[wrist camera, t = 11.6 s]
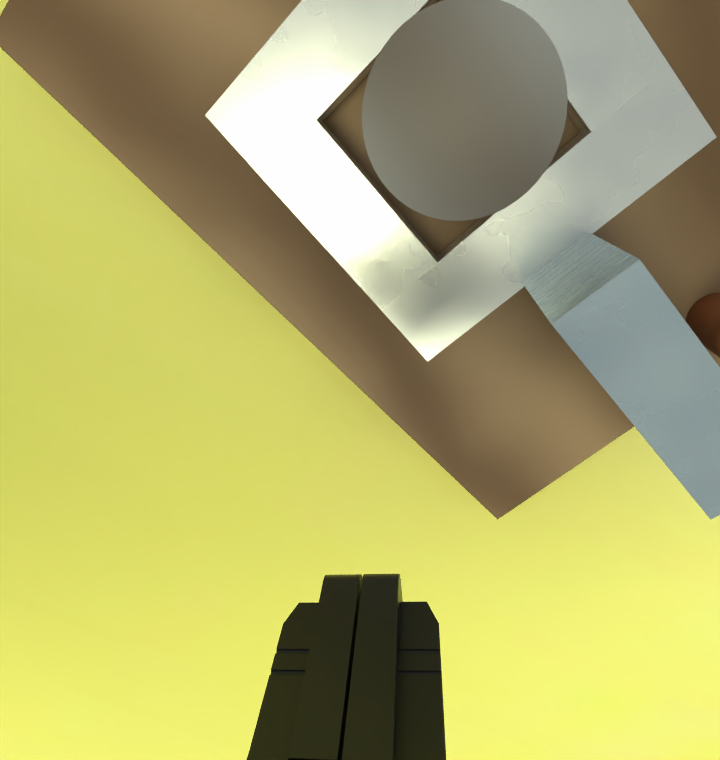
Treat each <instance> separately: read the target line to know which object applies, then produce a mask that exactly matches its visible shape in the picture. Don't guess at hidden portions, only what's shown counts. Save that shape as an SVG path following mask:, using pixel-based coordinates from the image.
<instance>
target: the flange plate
mask: <svg viewBox="0 0 720 760" xmlns="http://www.w3.org/2000/svg"><path fill="white" fill-rule="evenodd" d="M436 1H437V0H302V1H301V2H300V3H299V4H298V5H297V7H296V8H295V9H294V10H293V11H292V12H291V14H290V15H289V16H288V17H287V18H286V20H285V21H284V22H283V23H282V24H281V26H280V27H279V28H278V29H277V30H276V31H275V33H274V34H273V35H272V36H271V37H270V39H269V40H268V41H267V42H266V43H265V45H264V46H263V47H262V48H261V49H260V50H259V52H258V53H257V54H256V55H255V56H254V58H253V59H252V60H251V61H250V62H249V64H248V65H247V66H246V67H245V68H244V70H243V71H242V72H241V73H240V74H239V75H238V77H237V78H236V79H235V80H234V81H233V83H232V84H231V85H230V86H229V87H228V89H227V90H226V91H225V92H224V93H223V94H222V96H221V97H220V98H219V99H218V100H217V102H216V103H215V104H214V105H213V106H212V108H211V109H210V110H209V111H208V112H207V113H206V115H205V116H206V117H207V118H208V119H209V120H210V121H211V122H212V124H213V125H214V126H215V127H216V128H217V129H218V130H219V131H220V132H221V134H222V135H223V136H224V137H225V138H226V139H227V140H228V141H229V142H230V143H231V145H232V146H233V147H234V148H235V149H236V150H237V151H238V152H239V153H240V155H241V156H242V157H243V158H244V159H245V160H246V161H247V162H248V163H249V164H250V166H251V167H252V168H253V169H254V170H255V171H256V172H257V173H258V174H259V176H260V177H261V178H262V179H263V180H264V181H265V182H266V183H267V184H268V186H269V187H270V188H271V189H272V190H273V191H274V192H275V193H276V194H277V195H278V197H279V198H280V199H281V200H282V201H283V202H284V203H285V204H286V205H287V207H288V208H289V209H290V210H291V211H292V212H293V213H294V214H295V215H296V217H297V218H298V219H299V220H300V221H301V222H302V223H303V224H304V225H305V226H306V228H307V229H308V230H309V231H310V232H311V233H312V234H313V235H314V236H315V238H316V239H317V240H318V241H319V242H320V243H321V244H322V245H323V246H324V248H325V249H326V250H327V251H328V252H329V253H330V254H331V255H332V256H333V257H334V259H335V260H336V261H337V262H338V263H339V264H340V265H341V266H342V267H343V269H344V270H345V271H346V272H347V273H348V274H349V275H350V276H351V277H352V278H353V280H354V281H355V282H356V283H357V284H358V285H359V286H360V287H361V288H362V290H363V291H364V292H365V293H366V294H367V295H368V296H369V297H370V298H371V300H372V301H373V302H374V303H375V304H376V305H377V306H378V307H379V308H380V309H381V311H382V312H383V313H384V314H385V315H386V316H387V317H388V318H389V319H390V321H391V322H392V323H393V324H394V325H395V326H396V327H397V328H398V329H399V331H400V332H401V333H402V334H403V335H404V336H405V337H406V338H407V339H408V340H409V342H410V343H411V344H412V345H413V346H414V347H415V348H416V349H417V350H418V352H419V353H420V354H421V355H422V356H423V357H424V358H425V359H426V360H427V361H429V360H430V359H432V358H433V357H434V356H436V355H437V354H438V353H439V352H441V351H442V350H443V349H445V348H446V347H447V346H448V345H450V344H451V343H452V342H454V341H455V340H456V339H457V338H459V337H460V336H461V335H463V334H464V333H465V332H466V331H468V330H469V329H470V328H472V327H473V326H474V325H476V324H477V323H478V322H479V321H481V320H482V319H483V318H485V317H486V316H487V315H488V314H490V313H491V312H492V311H494V310H495V309H496V308H497V307H499V306H500V305H501V304H503V303H504V302H505V301H506V300H508V299H509V298H510V297H512V296H513V295H514V294H515V293H517V292H518V291H519V290H521V289H522V288H523V287H524V286H525V287H526V289H527V290H528V292H529V293H530V294H531V296H532V297H533V299H534V300H535V302H536V303H537V304H538V306H539V307H540V309H541V310H542V312H543V313H544V314H545V316H546V317H547V319H548V320H549V322H550V323H551V324H552V326H553V327H554V328H555V329H556V331H557V332H558V333H559V334H560V335H561V337H562V338H563V339H564V340H565V342H566V343H567V344H568V345H569V346H570V348H571V349H572V350H573V351H574V353H575V354H576V355H577V356H578V358H579V359H580V360H581V361H582V362H583V364H584V365H585V366H586V367H587V369H588V370H589V371H590V372H591V373H592V375H593V376H594V377H595V378H596V380H597V381H598V382H599V383H600V384H601V386H602V387H603V388H604V389H605V391H606V392H607V393H608V394H609V395H610V397H611V398H612V399H613V400H614V402H615V403H616V404H617V405H618V407H619V408H620V409H621V410H622V411H623V413H624V414H625V415H626V416H627V418H628V419H629V420H630V421H631V422H632V424H633V425H634V426H635V427H636V429H637V430H638V431H639V432H640V433H641V435H642V436H643V437H644V438H645V440H646V441H647V442H648V443H649V445H650V446H651V447H652V448H653V449H654V451H655V452H656V453H657V454H658V456H659V457H660V458H661V459H662V460H663V462H664V463H665V464H666V465H667V467H668V468H669V469H670V470H671V471H672V473H673V474H674V475H675V476H676V478H677V479H678V480H679V481H680V482H681V484H682V485H683V486H684V487H685V489H686V490H687V491H688V492H689V494H690V495H691V496H692V497H693V498H694V500H695V501H696V502H697V503H698V505H699V506H700V507H701V508H702V509H703V511H704V512H705V513H706V514H707V516H708V517H709V518H710V519H713V518H714V517H716V516H718V515H720V367H719V366H718V364H717V363H716V362H715V360H714V359H713V358H712V356H711V355H710V354H709V352H708V351H707V350H706V348H705V347H704V346H703V344H702V343H701V341H700V340H699V339H698V337H697V336H696V335H695V333H694V332H693V331H692V329H691V328H690V327H689V325H688V324H687V323H686V321H685V320H684V319H683V317H682V316H681V314H680V313H679V312H678V310H677V309H676V308H675V306H674V305H673V304H672V302H671V301H670V300H669V298H668V297H667V296H666V294H665V293H664V291H663V290H662V289H661V287H660V286H659V285H658V283H657V282H656V281H655V279H654V278H653V277H652V275H651V274H650V273H649V271H648V270H647V269H646V267H645V266H644V264H643V263H642V262H641V260H640V259H638V258H636V257H634V256H633V255H631V254H629V253H627V252H625V251H623V250H621V249H619V248H618V247H616V246H614V245H612V244H610V243H608V242H606V241H604V240H603V239H601V238H599V237H597V236H595V235H593V233H594V232H595V231H597V230H598V229H599V228H600V227H602V226H603V225H604V224H606V223H607V222H608V221H609V220H611V219H612V218H613V217H615V216H616V215H617V214H618V213H620V212H621V211H622V210H624V209H625V208H626V207H627V206H629V205H630V204H631V203H633V202H634V201H635V200H636V199H638V198H639V197H640V196H642V195H643V194H644V193H645V192H647V191H648V190H649V189H651V188H652V187H653V186H655V185H656V184H657V183H658V182H660V181H661V180H662V179H664V178H665V177H666V176H667V175H669V174H670V173H671V172H673V171H674V170H675V169H676V168H678V167H679V166H680V165H682V164H683V163H684V162H685V161H687V160H688V159H689V158H691V157H692V156H693V155H694V154H696V153H697V152H698V151H700V150H701V149H702V148H703V147H705V146H706V145H707V144H709V143H710V142H711V141H712V140H714V139H715V138H716V135H715V134H714V132H713V131H712V129H711V127H710V126H709V124H708V123H707V121H706V120H705V118H704V117H703V115H702V114H701V112H700V111H699V109H698V108H697V106H696V105H695V103H694V102H693V100H692V99H691V97H690V95H689V94H688V92H687V91H686V89H685V88H684V86H683V85H682V83H681V82H680V80H679V79H678V77H677V76H676V74H675V73H674V71H673V70H672V68H671V67H670V65H669V63H668V62H667V60H666V59H665V57H664V56H663V54H662V53H661V51H660V50H659V48H658V47H657V45H656V44H655V42H654V41H653V39H652V38H651V36H650V35H649V33H648V31H647V30H646V28H645V27H644V25H643V24H642V22H641V21H640V19H639V18H638V16H637V15H636V13H635V12H634V10H633V9H632V7H631V6H630V4H629V3H628V1H627V0H502V1H504V2H507V3H510V4H512V5H514V6H516V7H517V8H519V9H521V10H523V11H524V12H525V13H527V14H528V15H529V16H530V17H532V18H533V19H534V20H535V21H536V22H537V23H538V24H539V25H540V26H541V27H542V28H543V29H544V30H545V32H546V33H547V35H548V36H549V38H550V39H551V41H552V42H553V44H554V46H555V48H556V50H557V52H558V54H559V56H560V59H561V62H562V66H563V69H564V73H565V78H566V83H567V97H568V102H567V115H568V116H569V117H570V119H571V120H572V122H573V123H574V124H575V126H576V127H577V129H578V130H579V131H580V134H578V135H577V136H576V137H575V138H574V139H573V140H571V141H570V142H569V143H568V144H567V145H566V146H564V147H563V148H562V149H561V150H560V151H558V152H557V153H556V154H555V155H554V157H553V159H552V161H551V163H550V164H549V166H548V168H547V169H546V171H545V172H544V173H543V175H542V176H541V177H540V179H539V180H538V181H537V182H536V184H535V185H534V186H533V187H532V188H531V189H530V190H529V191H528V192H527V193H526V194H524V195H523V196H522V197H521V198H519V199H518V200H517V201H515V202H514V203H512V204H511V205H509V206H508V207H506V208H504V209H502V210H500V211H498V212H496V213H494V214H491V215H488V216H485V217H482V218H480V219H479V220H478V221H477V222H476V223H474V224H473V225H472V226H471V227H470V228H469V229H467V230H466V231H465V232H464V233H463V234H461V235H460V236H459V237H458V238H457V239H456V240H454V241H453V242H452V243H451V244H450V245H449V246H447V247H446V248H445V249H444V250H443V251H442V252H440V253H439V254H438V255H436V254H435V253H434V252H433V251H432V250H431V248H430V247H429V246H428V245H427V244H426V242H425V241H424V240H423V239H422V238H421V237H420V235H419V234H418V233H417V232H416V231H415V229H414V228H413V227H412V226H411V225H410V224H409V222H408V221H407V220H406V219H405V218H404V217H403V215H402V214H401V213H400V212H399V211H398V209H397V208H396V207H395V206H394V205H393V204H392V202H391V201H390V200H389V199H388V198H387V196H386V195H385V194H384V193H383V192H382V191H381V189H380V188H379V187H378V186H377V185H376V183H375V182H374V181H373V180H372V179H371V178H370V176H369V175H368V174H367V173H366V172H365V170H364V169H363V168H362V167H361V166H360V165H359V163H358V162H357V161H356V160H355V159H354V158H353V156H352V155H351V154H350V153H349V152H348V150H347V149H346V148H345V147H344V146H343V145H342V143H341V142H340V141H339V140H338V139H337V137H336V136H335V135H334V134H333V133H332V132H331V130H330V129H329V128H328V127H327V126H326V124H325V123H324V122H323V121H324V120H325V119H326V118H327V117H328V116H329V115H330V114H331V113H332V112H333V111H334V110H335V108H336V107H337V106H338V105H339V104H340V103H341V102H342V101H343V100H344V99H345V98H346V97H347V96H348V95H349V94H350V93H351V92H352V90H353V89H354V88H355V87H356V86H357V85H358V84H359V83H360V82H361V81H362V80H363V79H364V78H365V77H366V76H367V75H368V74H369V72H370V71H371V69H372V67H373V65H374V62H375V60H376V58H377V57H378V55H379V53H380V51H381V50H382V48H383V46H384V45H385V44H386V42H387V41H388V40H389V38H390V37H391V36H392V35H393V34H394V33H395V31H396V30H397V29H398V28H399V27H400V26H401V25H402V24H403V23H405V22H406V21H407V20H408V19H410V18H411V17H412V16H413V15H415V14H416V13H418V12H420V11H421V10H423V9H425V8H426V7H428V6H431V5H433V4H435V3H436Z"/></svg>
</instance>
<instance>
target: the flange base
mask: <svg viewBox="0 0 720 760" xmlns="http://www.w3.org/2000/svg"><path fill="white" fill-rule="evenodd" d="M301 1H302V0H9V1H8V3H7V5H6V6H5V8H4V10H3V12H2V14H1V16H0V47H1V48H2V49H3V50H4V51H5V52H6V53H7V54H8V55H9V56H10V57H11V58H12V59H13V60H14V61H15V62H16V63H17V64H19V65H20V66H21V67H22V68H23V69H24V70H25V71H26V72H27V73H28V74H29V75H30V76H31V77H32V78H33V79H34V80H35V81H36V82H37V83H39V84H40V85H41V86H42V87H43V88H44V89H45V90H46V91H47V92H48V93H49V94H50V95H51V96H52V97H53V98H54V99H55V100H56V101H58V102H59V103H60V104H61V105H62V106H63V107H64V108H65V109H66V110H67V111H68V112H69V113H70V114H71V115H72V116H73V117H74V118H75V119H76V120H78V121H79V122H80V123H81V124H82V125H83V126H84V127H85V128H86V129H87V130H88V131H89V132H90V133H91V134H92V135H93V136H94V137H95V138H96V139H98V140H99V141H100V142H101V143H102V144H103V145H104V146H105V147H106V148H107V149H108V150H109V151H110V152H111V153H112V154H113V155H114V156H115V157H117V158H118V159H119V160H120V161H121V162H122V163H123V164H124V165H125V166H126V167H127V168H128V169H129V170H130V171H131V172H132V173H133V174H134V175H135V176H137V177H138V178H139V179H140V180H141V181H142V182H143V183H144V184H145V185H146V186H147V187H148V188H149V189H150V190H151V191H152V192H153V193H154V194H155V195H157V196H158V197H159V198H160V199H161V200H162V201H163V202H164V203H165V204H166V205H167V206H168V207H169V208H170V209H171V210H172V211H173V212H174V213H175V214H177V215H178V216H179V217H180V218H181V219H182V220H183V221H184V222H185V223H186V224H187V225H188V226H189V227H190V228H191V229H192V230H193V231H194V232H196V233H197V234H198V235H199V236H200V237H201V238H202V239H203V240H204V241H205V242H206V243H207V244H208V245H209V246H210V247H211V248H212V249H213V250H214V251H216V252H217V253H218V254H219V255H220V256H221V257H222V258H223V259H224V260H225V261H226V262H227V263H228V264H229V265H230V266H231V267H232V268H233V269H234V270H236V271H237V272H238V273H239V274H240V275H241V276H242V277H243V278H244V279H245V280H246V281H247V282H248V283H249V284H250V285H251V286H252V287H253V288H254V289H256V290H257V291H258V292H259V293H260V294H261V295H262V296H263V297H264V298H265V299H266V300H267V301H268V302H269V303H270V304H271V305H272V306H273V307H275V308H276V309H277V310H278V311H279V312H280V313H281V314H282V315H283V316H284V317H285V318H286V319H287V320H288V321H289V322H290V323H291V324H292V325H293V326H295V327H296V328H297V329H298V330H299V331H300V332H301V333H302V334H303V335H304V336H305V337H306V338H307V339H308V340H309V341H310V342H311V343H312V344H313V345H315V346H316V347H317V348H318V349H319V350H320V351H321V352H322V353H323V354H324V355H325V356H326V357H327V358H328V359H329V360H330V361H331V362H332V363H333V364H335V365H336V366H337V367H338V368H339V369H340V370H341V371H342V372H343V373H344V374H345V375H346V376H347V377H348V378H349V379H350V380H351V381H352V382H354V383H355V384H356V385H357V386H358V387H359V388H360V389H361V390H362V391H363V392H364V393H365V394H366V395H367V396H368V397H369V398H370V399H371V400H372V401H374V402H375V403H376V404H377V405H378V406H379V407H380V408H381V409H382V410H383V411H384V412H385V413H386V414H387V415H388V416H389V417H390V418H391V419H392V420H394V421H395V422H396V423H397V424H398V425H399V426H400V427H401V428H402V429H403V430H404V431H405V432H406V433H407V434H408V435H409V436H410V437H411V438H412V439H414V440H415V441H416V442H417V443H418V444H419V445H420V446H421V447H422V448H423V449H424V450H425V451H426V452H427V453H428V454H429V455H430V456H431V457H433V458H434V459H435V460H436V461H437V462H438V463H439V464H440V465H441V466H442V467H443V468H444V469H445V470H446V471H447V472H448V473H449V474H450V475H451V476H453V477H454V478H455V479H456V480H457V481H458V482H459V483H460V484H461V485H462V486H463V487H464V488H465V489H466V490H467V491H468V492H469V493H470V494H471V495H473V496H474V497H475V498H476V499H477V500H478V501H479V502H480V503H481V504H482V505H483V506H484V507H485V508H486V509H487V510H488V511H489V512H490V513H491V514H493V515H494V516H495V517H496V518H497V519H499V518H500V517H502V516H503V515H505V514H506V513H508V512H509V511H511V510H512V509H514V508H515V507H516V506H518V505H519V504H521V503H522V502H524V501H525V500H527V499H528V498H530V497H531V496H533V495H534V494H536V493H537V492H538V491H540V490H541V489H543V488H544V487H546V486H547V485H549V484H550V483H552V482H553V481H555V480H556V479H558V478H559V477H561V476H562V475H563V474H565V473H566V472H568V471H569V470H571V469H572V468H574V467H575V466H577V465H578V464H580V463H581V462H583V461H584V460H585V459H587V458H588V457H590V456H591V455H593V454H594V453H596V452H597V451H599V450H600V449H602V448H603V447H605V446H606V445H608V444H609V443H610V442H612V441H613V440H615V439H616V438H618V437H619V436H621V435H622V434H624V433H625V432H627V431H628V430H630V429H631V428H632V427H634V425H633V424H632V422H631V421H630V420H629V419H628V418H627V416H626V415H625V414H624V413H623V411H622V410H621V409H620V408H619V407H618V405H617V404H616V403H615V402H614V400H613V399H612V398H611V397H610V395H609V394H608V393H607V392H606V391H605V389H604V388H603V387H602V386H601V384H600V383H599V382H598V381H597V380H596V378H595V377H594V376H593V375H592V373H591V372H590V371H589V370H588V369H587V367H586V366H585V365H584V364H583V362H582V361H581V360H580V359H579V358H578V356H577V355H576V354H575V353H574V351H573V350H572V349H571V348H570V346H569V345H568V344H567V343H566V342H565V340H564V339H563V338H562V337H561V335H560V334H559V333H558V332H557V331H556V329H555V328H554V327H553V326H552V324H551V323H550V322H549V320H548V319H547V317H546V316H545V314H544V313H543V312H542V310H541V309H540V307H539V306H538V304H537V303H536V302H535V300H534V299H533V297H532V296H531V294H530V293H529V292H528V290H527V289H526V287H525V286H524V287H523V288H522V289H521V290H519V291H518V292H517V293H515V294H514V295H513V296H512V297H510V298H509V299H508V300H506V301H505V302H504V303H503V304H501V305H500V306H499V307H497V308H496V309H495V310H494V311H492V312H491V313H490V314H488V315H487V316H486V317H485V318H483V319H482V320H481V321H479V322H478V323H477V324H476V325H474V326H473V327H472V328H470V329H469V330H468V331H466V332H465V333H464V334H463V335H461V336H460V337H459V338H457V339H456V340H455V341H454V342H452V343H451V344H450V345H448V346H447V347H446V348H445V349H443V350H442V351H441V352H439V353H438V354H437V355H436V356H434V357H433V358H432V359H430V360H429V361H427V360H426V359H425V358H424V357H423V356H422V355H421V354H420V353H419V352H418V350H417V349H416V348H415V347H414V346H413V345H412V344H411V343H410V342H409V340H408V339H407V338H406V337H405V336H404V335H403V334H402V333H401V332H400V331H399V329H398V328H397V327H396V326H395V325H394V324H393V323H392V322H391V321H390V319H389V318H388V317H387V316H386V315H385V314H384V313H383V312H382V311H381V309H380V308H379V307H378V306H377V305H376V304H375V303H374V302H373V301H372V300H371V298H370V297H369V296H368V295H367V294H366V293H365V292H364V291H363V290H362V288H361V287H360V286H359V285H358V284H357V283H356V282H355V281H354V280H353V278H352V277H351V276H350V275H349V274H348V273H347V272H346V271H345V270H344V269H343V267H342V266H341V265H340V264H339V263H338V262H337V261H336V260H335V259H334V257H333V256H332V255H331V254H330V253H329V252H328V251H327V250H326V249H325V248H324V246H323V245H322V244H321V243H320V242H319V241H318V240H317V239H316V238H315V236H314V235H313V234H312V233H311V232H310V231H309V230H308V229H307V228H306V226H305V225H304V224H303V223H302V222H301V221H300V220H299V219H298V218H297V217H296V215H295V214H294V213H293V212H292V211H291V210H290V209H289V208H288V207H287V205H286V204H285V203H284V202H283V201H282V200H281V199H280V198H279V197H278V195H277V194H276V193H275V192H274V191H273V190H272V189H271V188H270V187H269V186H268V184H267V183H266V182H265V181H264V180H263V179H262V178H261V177H260V176H259V174H258V173H257V172H256V171H255V170H254V169H253V168H252V167H251V166H250V164H249V163H248V162H247V161H246V160H245V159H244V158H243V157H242V156H241V155H240V153H239V152H238V151H237V150H236V149H235V148H234V147H233V146H232V145H231V143H230V142H229V141H228V140H227V139H226V138H225V137H224V136H223V135H222V134H221V132H220V131H219V130H218V129H217V128H216V127H215V126H214V125H213V124H212V122H211V121H210V120H209V119H208V118H207V117H206V116H205V115H206V113H207V112H208V111H209V110H210V109H211V108H212V106H213V105H214V104H215V103H216V102H217V100H218V99H219V98H220V97H221V96H222V94H223V93H224V92H225V91H226V90H227V89H228V87H229V86H230V85H231V84H232V83H233V81H234V80H235V79H236V78H237V77H238V75H239V74H240V73H241V72H242V71H243V70H244V68H245V67H246V66H247V65H248V64H249V62H250V61H251V60H252V59H253V58H254V56H255V55H256V54H257V53H258V52H259V50H260V49H261V48H262V47H263V46H264V45H265V43H266V42H267V41H268V40H269V39H270V37H271V36H272V35H273V34H274V33H275V31H276V30H277V29H278V28H279V27H280V26H281V24H282V23H283V22H284V21H285V20H286V18H287V17H288V16H289V15H290V14H291V12H292V11H293V10H294V9H295V8H296V7H297V5H298V4H299V3H300V2H301ZM627 1H628V3H629V4H630V6H631V7H632V9H633V10H634V12H635V13H636V15H637V16H638V18H639V19H640V21H641V22H642V24H643V25H644V27H645V28H646V30H647V31H648V33H649V35H650V36H651V38H652V39H653V41H654V42H655V44H656V45H657V47H658V48H659V50H660V51H661V53H662V54H663V56H664V57H665V59H666V60H667V62H668V63H669V65H670V67H671V68H672V70H673V71H674V73H675V74H676V76H677V77H678V79H679V80H680V82H681V83H682V85H683V86H684V88H685V89H686V91H687V92H688V94H689V95H690V97H691V99H692V100H693V102H694V103H695V105H696V106H697V108H698V109H699V111H700V112H701V114H702V115H703V117H704V118H705V120H706V121H707V123H708V124H709V126H710V127H711V129H712V131H713V132H714V134H715V135H716V138H715V139H714V140H712V141H711V142H710V143H709V144H707V145H706V146H705V147H703V148H702V149H701V150H700V151H698V152H697V153H696V154H694V155H693V156H692V157H691V158H689V159H688V160H687V161H685V162H684V163H683V164H682V165H680V166H679V167H678V168H676V169H675V170H674V171H673V172H671V173H670V174H669V175H667V176H666V177H665V178H664V179H662V180H661V181H660V182H658V183H657V184H656V185H655V186H653V187H652V188H651V189H649V190H648V191H647V192H645V193H644V194H643V195H642V196H640V197H639V198H638V199H636V200H635V201H634V202H633V203H631V204H630V205H629V206H627V207H626V208H625V209H624V210H622V211H621V212H620V213H618V214H617V215H616V216H615V217H613V218H612V219H611V220H609V221H608V222H607V223H606V224H604V225H603V226H602V227H600V228H599V229H598V230H597V231H595V232H594V233H593V235H595V236H597V237H599V238H601V239H603V240H604V241H606V242H608V243H610V244H612V245H614V246H616V247H618V248H619V249H621V250H623V251H625V252H627V253H629V254H631V255H633V256H634V257H636V258H638V259H640V260H641V262H642V263H643V264H644V266H645V267H646V269H647V270H648V271H649V273H650V274H651V275H652V277H653V278H654V279H655V281H656V282H657V283H658V285H659V286H660V287H661V289H662V290H663V291H664V293H665V294H666V296H667V297H668V298H669V300H670V301H671V302H672V304H673V305H674V306H675V308H676V309H677V310H678V312H679V313H680V314H681V316H682V317H683V319H684V320H685V321H686V323H687V324H688V325H689V327H690V328H691V329H692V331H693V332H694V333H695V335H696V336H697V337H698V339H699V340H700V341H701V343H702V344H703V346H704V347H705V348H706V350H707V351H708V352H709V354H710V355H711V356H712V358H713V359H714V360H715V362H716V363H717V364H718V366H719V367H720V0H627ZM567 102H568V97H567V83H566V78H565V73H564V69H563V66H562V62H561V59H560V56H559V54H558V52H557V50H556V48H555V46H554V44H553V42H552V41H551V39H550V38H549V36H548V35H547V33H546V32H545V30H544V29H543V28H542V27H541V26H540V25H539V24H538V23H537V22H536V21H535V20H534V19H533V18H532V17H530V16H529V15H528V14H527V13H525V12H524V11H523V10H521V9H519V8H517V7H516V6H514V5H512V4H510V3H507V2H504V1H502V0H437V1H436V3H435V4H433V5H431V6H428V7H426V8H425V9H423V10H421V11H420V12H418V13H416V14H415V15H413V16H412V17H411V18H410V19H408V20H407V21H406V22H405V23H403V24H402V25H401V26H400V27H399V28H398V29H397V30H396V31H395V33H394V34H393V35H392V36H391V37H390V38H389V40H388V41H387V42H386V44H385V45H384V46H383V48H382V50H381V51H380V53H379V55H378V57H377V58H376V60H375V62H374V65H373V67H372V69H371V71H370V72H369V74H368V75H367V76H366V77H365V78H364V79H363V80H362V81H361V82H360V83H359V84H358V85H357V86H356V87H355V88H354V89H353V90H352V92H351V93H350V94H349V95H348V96H347V97H346V98H345V99H344V100H343V101H342V102H341V103H340V104H339V105H338V106H337V107H336V108H335V110H334V111H333V112H332V113H331V114H330V115H329V116H328V117H327V118H326V119H325V120H324V121H323V122H324V123H325V124H326V126H327V127H328V128H329V129H330V130H331V132H332V133H333V134H334V135H335V136H336V137H337V139H338V140H339V141H340V142H341V143H342V145H343V146H344V147H345V148H346V149H347V150H348V152H349V153H350V154H351V155H352V156H353V158H354V159H355V160H356V161H357V162H358V163H359V165H360V166H361V167H362V168H363V169H364V170H365V172H366V173H367V174H368V175H369V176H370V178H371V179H372V180H373V181H374V182H375V183H376V185H377V186H378V187H379V188H380V189H381V191H382V192H383V193H384V194H385V195H386V196H387V198H388V199H389V200H390V201H391V202H392V204H393V205H394V206H395V207H396V208H397V209H398V211H399V212H400V213H401V214H402V215H403V217H404V218H405V219H406V220H407V221H408V222H409V224H410V225H411V226H412V227H413V228H414V229H415V231H416V232H417V233H418V234H419V235H420V237H421V238H422V239H423V240H424V241H425V242H426V244H427V245H428V246H429V247H430V248H431V250H432V251H433V252H434V253H435V254H436V255H438V254H439V253H440V252H442V251H443V250H444V249H445V248H446V247H447V246H449V245H450V244H451V243H452V242H453V241H454V240H456V239H457V238H458V237H459V236H460V235H461V234H463V233H464V232H465V231H466V230H467V229H469V228H470V227H471V226H472V225H473V224H474V223H476V222H477V221H478V220H479V219H480V218H482V217H485V216H488V215H491V214H494V213H496V212H498V211H500V210H502V209H504V208H506V207H508V206H509V205H511V204H512V203H514V202H515V201H517V200H518V199H519V198H521V197H522V196H523V195H524V194H526V193H527V192H528V191H529V190H530V189H531V188H532V187H533V186H534V185H535V184H536V182H537V181H538V180H539V179H540V177H541V176H542V175H543V173H544V172H545V171H546V169H547V168H548V166H549V164H550V163H551V161H552V159H553V157H554V155H555V154H556V153H557V152H558V151H560V150H561V149H562V148H563V147H564V146H566V145H567V144H568V143H569V142H570V141H571V140H573V139H574V138H575V137H576V136H577V135H578V134H580V131H579V130H578V129H577V127H576V126H575V124H574V123H573V122H572V120H571V119H570V117H569V116H568V115H567Z"/></svg>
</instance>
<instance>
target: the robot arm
mask: <svg viewBox="0 0 720 760" xmlns="http://www.w3.org/2000/svg"><path fill="white" fill-rule="evenodd" d="M247 760H446V748H445V729H444V710H443V692H442V673H441V655H440V638H439V623H438V621H437V620H436V618H435V616H434V614H433V612H432V611H431V609H430V607H429V605H428V603H427V602H403V601H402V590H401V579H400V574H364V575H363V577H362V575H326V576H325V577H324V580H323V585H322V590H321V595H320V600H319V603H299V604H298V605H297V606H296V608H295V609H294V610H293V612H292V613H291V614H290V616H289V617H288V618H287V620H286V621H285V622H284V624H283V627H282V630H281V634H280V638H279V642H278V645H277V653H276V654H275V657H274V661H273V664H272V668H271V675H270V676H269V679H268V683H267V687H266V691H265V694H264V698H263V702H262V706H261V709H260V713H259V717H258V721H257V724H256V728H255V732H254V736H253V739H252V743H251V747H250V751H249V754H248V757H247Z"/></svg>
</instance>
